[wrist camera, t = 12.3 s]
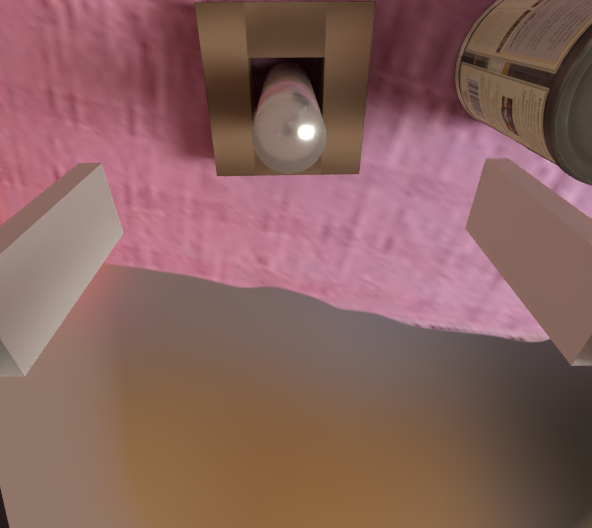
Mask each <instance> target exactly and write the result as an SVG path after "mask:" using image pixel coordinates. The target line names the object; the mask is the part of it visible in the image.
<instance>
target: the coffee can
mask: <svg viewBox="0 0 592 528" xmlns="http://www.w3.org/2000/svg"><path fill="white" fill-rule="evenodd" d="M455 85H456V91H457V95H458V98H459V100H460V102H461V104H462V106H463V108H464V109H465V110H466V111H467V113H468V114H469V115H470V116H472V117H473V118H474V119H476V120H478V121H480V122H482V123H485V124H487V125H488V126H490V127H492V128H493V129H495V130H497V131H499V132H500V133H502V134H504V135H506V136H508V137H509V138H511V139H513V140H514V141H516V142H518V143H520V144H521V145H523V146H525V147H526V148H527V149H529V150H531V151H533V152H535V153H536V154H538V155H540V156H542V157H543V158H545V159H547V160H549V161H551V162H552V163H554V164H556V165H558V166H559V167H560V168H561V169H562V170H563V171H564V172H565V173H567V174H568V175H569V176H571V177H573V178H574V179H576V180H578V181H580V182H583V183H585V184H589V185H592V0H497V1H496V2H494V3H493V4H492V5H491V6H490V7H489V8H488V9H486V10H485V11H484V13H483V14H482V15H481V16H480V17H479V18H478V19H477V20H476V21H475V23H474V24H473V26H472V28H471V29H470V31H469V32H468V34H467V36H466V38H465V40H464V42H463V44H462V46H461V49H460V52H459V54H458V58H457V63H456V69H455Z"/></svg>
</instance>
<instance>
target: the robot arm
mask: <svg viewBox="0 0 592 528" xmlns="http://www.w3.org/2000/svg"><path fill="white" fill-rule="evenodd" d="M465 229H466V230H467V231H468V232H469V234H470V235H471V236H472V238H473V239H474V240H475V242H476V243H477V244H478V245H479V247H480V248H481V249H482V251H483V252H484V253H485V254H486V256H487V257H488V258H489V260H490V261H491V262H492V263H493V265H494V266H495V267H496V269H497V270H498V271H499V273H500V274H501V275H502V276H503V278H504V279H505V280H506V282H507V283H508V284H509V285H510V287H511V288H512V289H513V291H514V292H515V293H516V295H517V296H518V297H519V298H520V300H521V301H522V302H523V304H524V305H525V306H526V307H527V309H528V310H529V311H530V313H531V314H532V315H533V317H534V318H535V319H536V320H537V322H538V323H539V324H540V326H541V327H542V328H543V329H544V331H545V332H546V333H547V335H548V336H549V337H550V339H551V340H552V341H553V342H554V344H555V345H556V346H557V348H558V349H559V350H560V351H561V353H562V354H563V355H564V357H565V358H566V359H567V360H568V362H569V363H570V364H571V366H579V365H592V219H590V218H589V217H588V216H586V215H585V214H584V213H582V212H581V211H579V210H578V209H577V208H575V207H574V206H573V205H571V204H570V203H568V202H567V201H566V200H564V199H563V198H562V197H560V196H559V195H557V194H556V193H555V192H553V191H552V190H551V189H549V188H548V187H547V186H545V185H544V184H542V183H541V182H540V181H538V180H537V179H536V178H534V177H533V176H531V175H530V174H529V173H527V172H526V171H525V170H523V169H522V168H520V167H519V166H518V165H516V164H515V163H514V162H512V161H511V160H509V159H508V158H504V159H486V160H485V164H484V167H483V170H482V174H481V177H480V181H479V184H478V187H477V191H476V194H475V198H474V201H473V204H472V208H471V211H470V215H469V218H468V221H467V225H466V228H465ZM122 235H123V230H122V227H121V224H120V220H119V217H118V214H117V211H116V208H115V204H114V201H113V198H112V195H111V192H110V188H109V185H108V182H107V179H106V176H105V172H104V169H103V166H102V163H79V164H78V165H76V166H75V167H74V168H73V169H71V170H70V171H69V172H68V173H66V174H65V175H64V176H63V177H61V178H60V179H59V180H58V181H56V182H55V183H54V184H53V185H51V186H50V187H49V188H48V189H46V190H45V191H44V192H43V193H41V194H40V195H39V196H38V197H36V198H35V199H34V200H33V201H31V202H30V203H29V204H28V205H26V206H25V207H24V208H23V209H21V210H20V211H19V212H18V213H16V214H15V215H14V216H13V217H11V218H10V219H9V220H8V221H6V222H5V223H4V224H3V225H1V226H0V377H7V376H8V377H12V376H25V375H26V374H27V372H28V371H29V370H30V368H31V367H32V365H33V364H34V362H35V361H36V359H37V358H38V357H39V355H40V353H41V352H42V351H43V349H44V348H45V346H46V345H47V343H48V342H49V341H50V339H51V338H52V336H53V335H54V333H55V331H56V330H57V329H58V328H59V326H60V325H61V323H62V322H63V320H64V319H65V317H66V316H67V315H68V313H69V312H70V310H71V309H72V307H73V306H74V304H75V303H76V301H77V300H78V298H79V297H80V296H81V294H82V293H83V291H84V290H85V288H86V287H87V285H88V284H89V283H90V281H91V280H92V278H93V277H94V275H95V274H96V273H97V271H98V270H99V268H100V267H101V265H102V264H103V262H104V261H105V259H106V258H107V257H108V255H109V254H110V252H111V251H112V249H113V248H114V246H115V245H116V244H117V242H118V241H119V239H120V238H121V236H122ZM0 528H9V524H8V520H7V516H6V511H5V507H4V502H3V498H2V493H1V489H0Z"/></svg>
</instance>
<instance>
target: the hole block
mask: <svg viewBox="0 0 592 528" xmlns="http://www.w3.org/2000/svg"><path fill="white" fill-rule="evenodd" d="M195 10H196V18H197V26H198V33H199V41H200V49H201V56H202V64H203V72H204V79H205V87H206V95H207V103H208V110H209V118H210V126H211V133H212V141H213V149H214V156H215V164H216V172H217V176H258V175H325V174H359V170H360V159H361V149H362V138H363V128H364V117H365V107H366V96H367V85H368V75H369V64H370V54H371V43H372V32H373V22H374V11H375V1H370V2H196V3H195ZM293 57H320V82H319V109H320V112H321V115H322V118H323V121H324V124H325V128H326V143H325V147H324V150H323V152H322V154H321V156H320V157H319V159H318V160H317V161H316V162H315V163H314V164H313V165H312V166H311V167H309V168H308V169H306V170H304V171H301V172H297V173H281V172H277V171H275V170H273V169H271V168H269V167H268V166H266V165H265V164H264V163H263V162H262V161H261V160H260V159H259V157H258V156H257V154H256V152H255V150H254V147H253V144H252V127H253V123H254V120H255V116H256V114H255V98H254V83H253V67H252V58H293Z"/></svg>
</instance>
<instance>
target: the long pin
mask: <svg viewBox="0 0 592 528" xmlns="http://www.w3.org/2000/svg"><path fill="white" fill-rule="evenodd" d="M325 143H326V128H325V124H324V121H323V118H322V115H321V112H320V109H319V106H318V103H317V100H316V97H315V94H314V91H313V88H312V85H311V82H310V79H309V76H308V75H307V73H306V72H305V70H304V69H303V68H302V67H300V66H299V65H297V64H295V63H291V62H283V63H279V64H277V65H275V66H274V67H273V68H272V69H271V70H270V71H269V72H268V74H267V75H266V78H265V81H264V85H263V88H262V92H261V96H260V100H259V104H258V108H257V112H256V116H255V120H254V123H253V127H252V144H253V147H254V150H255V152H256V154H257V156H258V157H259V159H260V160H261V161H262V162H263V163H264V164H265V165H266V166H268V167H269V168H271V169H273V170H275V171H277V172H281V173H297V172H301V171H304V170H306V169H308V168H309V167H311V166H312V165H313V164H314V163H315V162H316V161H317V160H318V159H319V157H320V156H321V154H322V152H323V150H324V147H325Z"/></svg>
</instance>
